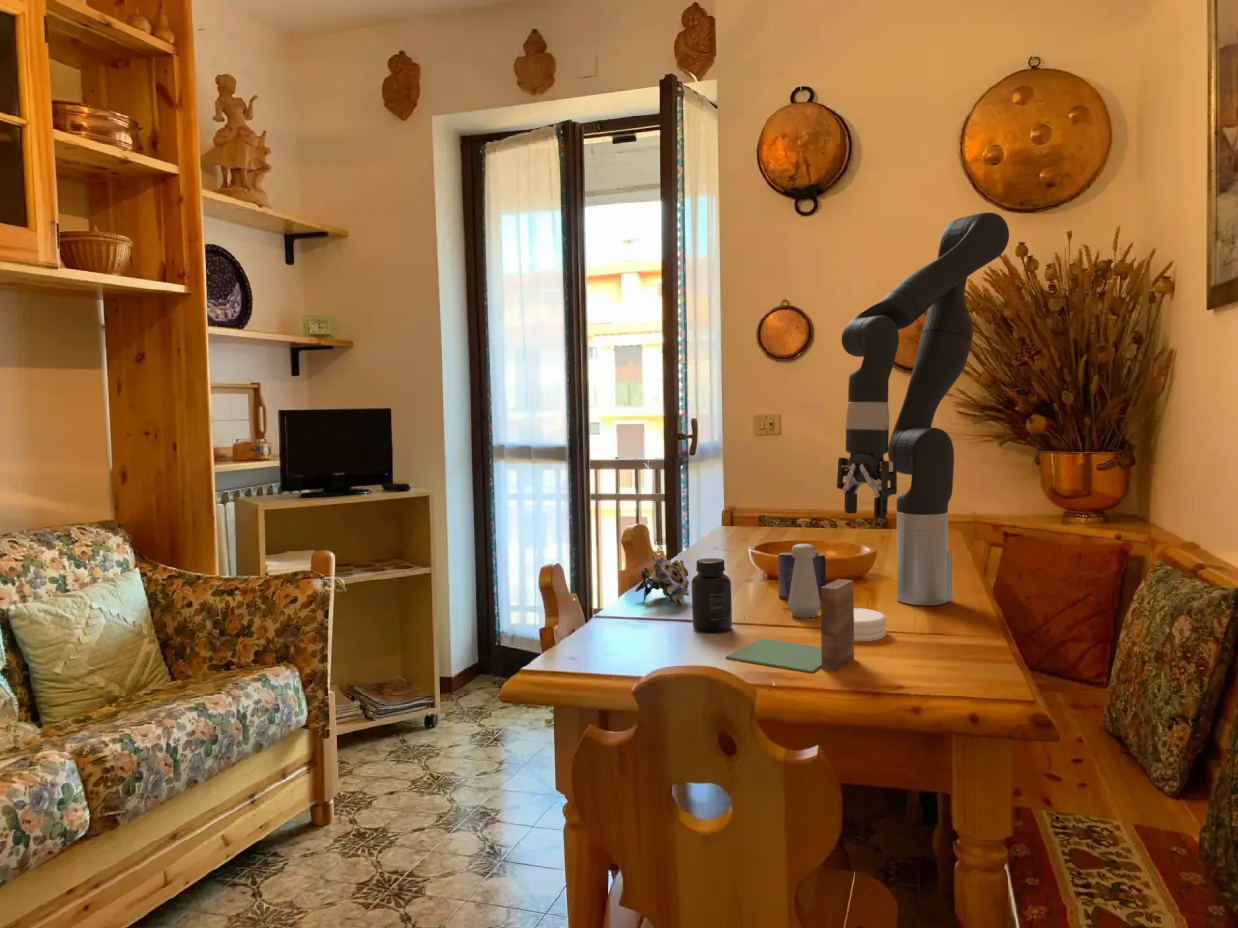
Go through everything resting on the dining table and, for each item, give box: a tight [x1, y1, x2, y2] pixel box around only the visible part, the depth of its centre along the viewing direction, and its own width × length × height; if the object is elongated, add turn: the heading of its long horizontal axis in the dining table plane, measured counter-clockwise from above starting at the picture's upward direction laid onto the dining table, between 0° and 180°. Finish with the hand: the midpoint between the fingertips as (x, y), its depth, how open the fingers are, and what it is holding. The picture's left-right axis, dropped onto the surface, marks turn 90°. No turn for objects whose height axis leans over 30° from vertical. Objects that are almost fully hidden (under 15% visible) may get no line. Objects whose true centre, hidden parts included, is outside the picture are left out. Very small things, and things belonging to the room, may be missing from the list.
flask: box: [777, 551, 827, 600], centre depth 171 cm, size 9×3×11 cm, turn 71°
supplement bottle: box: [690, 557, 733, 634], centre depth 150 cm, size 7×7×12 cm
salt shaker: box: [787, 543, 821, 619], centre depth 157 cm, size 6×6×13 cm
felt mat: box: [725, 637, 822, 674], centre depth 133 cm, size 14×12×1 cm
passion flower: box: [635, 553, 691, 607], centre depth 170 cm, size 11×11×12 cm
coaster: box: [854, 607, 887, 642], centre depth 145 cm, size 10×10×4 cm
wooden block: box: [820, 578, 855, 672], centre depth 128 cm, size 2×7×12 cm, turn 145°
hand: (865, 515), depth 159 cm, fingers open, 8 cm apart
